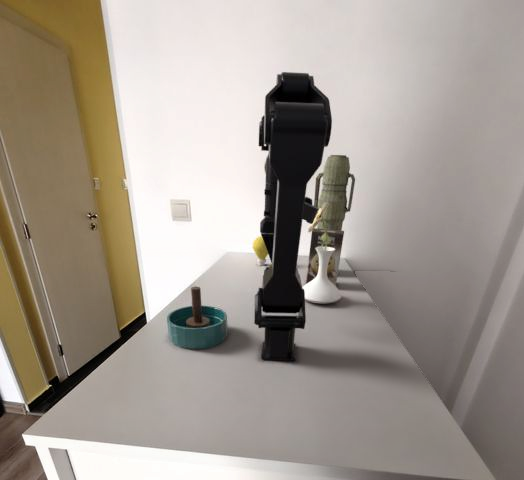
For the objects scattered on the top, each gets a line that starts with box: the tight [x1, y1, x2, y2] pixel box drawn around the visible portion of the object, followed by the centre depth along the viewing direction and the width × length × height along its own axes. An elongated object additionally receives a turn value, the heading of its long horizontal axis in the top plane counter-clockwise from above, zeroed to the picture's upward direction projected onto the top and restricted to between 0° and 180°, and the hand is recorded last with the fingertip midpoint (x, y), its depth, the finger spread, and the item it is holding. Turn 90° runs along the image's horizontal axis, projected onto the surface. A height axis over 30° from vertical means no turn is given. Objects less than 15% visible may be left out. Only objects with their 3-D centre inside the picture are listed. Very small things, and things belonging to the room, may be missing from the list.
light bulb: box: [252, 235, 269, 267], centre depth 119 cm, size 7×7×10 cm
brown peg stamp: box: [186, 286, 210, 328], centre depth 67 cm, size 5×5×10 cm
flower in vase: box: [302, 202, 342, 305], centre depth 84 cm, size 13×11×25 cm
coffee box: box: [305, 227, 345, 287], centre depth 99 cm, size 9×6×16 cm
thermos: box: [313, 154, 356, 231], centre depth 106 cm, size 9×12×35 cm
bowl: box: [166, 304, 228, 350], centre depth 69 cm, size 12×12×4 cm
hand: (275, 259), depth 76 cm, fingers open, 9 cm apart
